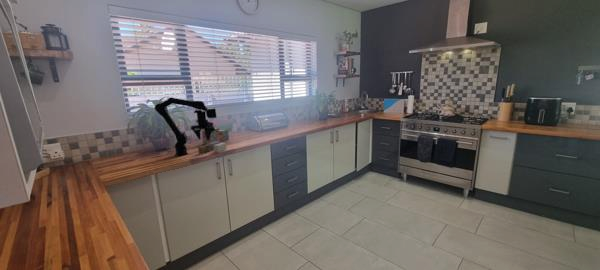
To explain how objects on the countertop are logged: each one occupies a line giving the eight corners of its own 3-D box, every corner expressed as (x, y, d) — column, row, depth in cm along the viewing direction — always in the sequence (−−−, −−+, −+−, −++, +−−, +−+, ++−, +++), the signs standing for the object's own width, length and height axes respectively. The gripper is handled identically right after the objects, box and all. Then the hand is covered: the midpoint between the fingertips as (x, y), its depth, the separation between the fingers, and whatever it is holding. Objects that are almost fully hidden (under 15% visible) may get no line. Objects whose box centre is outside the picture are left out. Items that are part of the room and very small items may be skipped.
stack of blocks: (224, 138, 225) (223, 125, 222) (228, 139, 221) (227, 126, 219) (203, 144, 208) (201, 129, 206) (207, 145, 205) (206, 130, 202)
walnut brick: (203, 154, 180) (202, 147, 179) (199, 153, 182) (198, 146, 181) (211, 151, 187) (211, 144, 186) (207, 150, 189) (206, 144, 188)
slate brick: (212, 150, 189) (212, 144, 188) (208, 149, 191) (208, 143, 190) (221, 147, 196) (220, 141, 194) (217, 147, 198) (216, 141, 197)
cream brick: (218, 152, 183) (218, 145, 182) (214, 151, 185) (213, 145, 184) (226, 149, 190) (225, 143, 189) (222, 148, 192) (221, 142, 191)
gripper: (219, 117, 181) (221, 138, 185) (202, 116, 190) (204, 136, 194) (207, 120, 172) (209, 142, 175) (189, 118, 181) (191, 139, 184)
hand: (203, 139), depth 182 cm, fingers open, 9 cm apart
